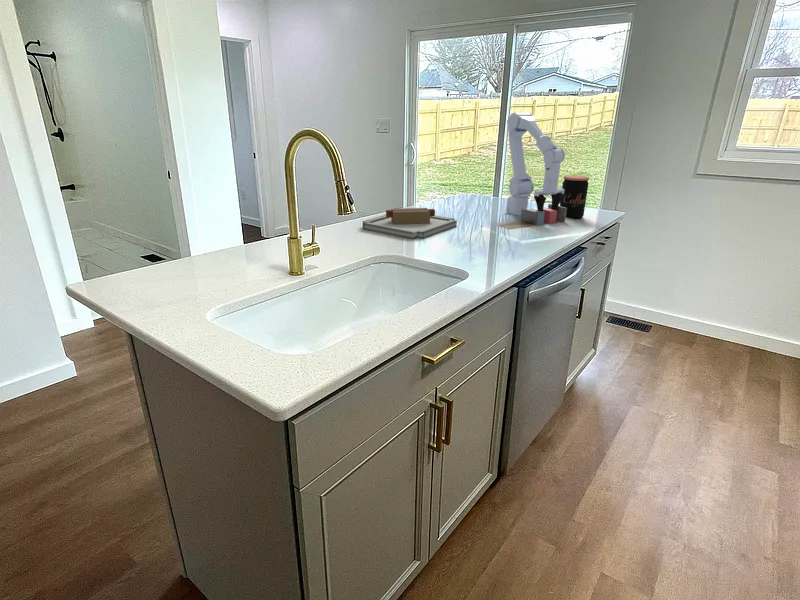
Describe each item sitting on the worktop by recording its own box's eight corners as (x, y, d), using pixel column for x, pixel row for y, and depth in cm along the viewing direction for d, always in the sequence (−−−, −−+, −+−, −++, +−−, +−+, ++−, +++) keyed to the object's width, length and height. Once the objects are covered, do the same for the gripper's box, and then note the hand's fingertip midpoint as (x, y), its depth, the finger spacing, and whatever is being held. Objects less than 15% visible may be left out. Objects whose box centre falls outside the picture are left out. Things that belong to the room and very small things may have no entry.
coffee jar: (558, 219, 207) (563, 177, 200) (558, 214, 216) (563, 174, 209) (583, 220, 204) (590, 178, 197) (582, 215, 213) (588, 175, 206)
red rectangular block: (536, 219, 202) (537, 207, 200) (542, 218, 203) (544, 207, 201) (549, 223, 195) (550, 211, 193) (555, 222, 196) (557, 210, 194)
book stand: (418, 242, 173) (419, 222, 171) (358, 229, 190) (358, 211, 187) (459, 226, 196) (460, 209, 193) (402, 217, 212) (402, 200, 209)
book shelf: (493, 226, 194) (494, 209, 191) (548, 219, 206) (550, 203, 203) (508, 231, 186) (509, 214, 183) (565, 224, 198) (567, 207, 195)
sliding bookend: (520, 220, 199) (521, 208, 197) (522, 220, 199) (523, 208, 197) (534, 225, 191) (536, 212, 189) (536, 224, 191) (538, 212, 189)
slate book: (523, 220, 199) (525, 209, 197) (530, 220, 200) (531, 208, 198) (536, 224, 192) (538, 212, 190) (543, 224, 194) (544, 212, 192)
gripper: (544, 181, 186) (540, 215, 191) (571, 179, 192) (566, 212, 197) (532, 179, 192) (528, 211, 197) (559, 177, 198) (554, 209, 203)
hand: (546, 211), depth 198 cm, fingers open, 7 cm apart
